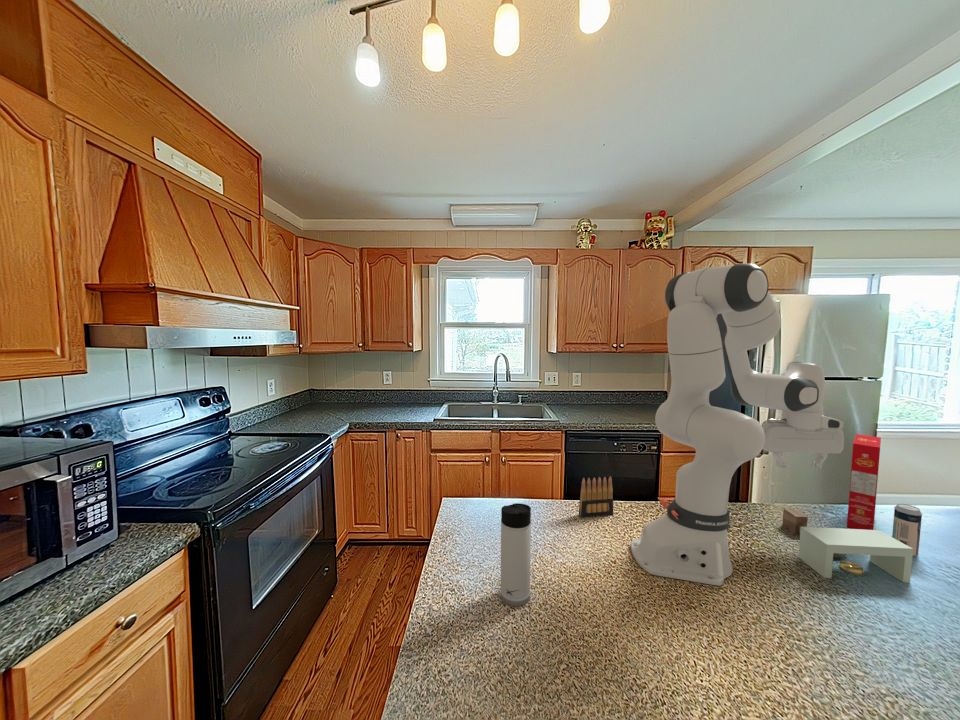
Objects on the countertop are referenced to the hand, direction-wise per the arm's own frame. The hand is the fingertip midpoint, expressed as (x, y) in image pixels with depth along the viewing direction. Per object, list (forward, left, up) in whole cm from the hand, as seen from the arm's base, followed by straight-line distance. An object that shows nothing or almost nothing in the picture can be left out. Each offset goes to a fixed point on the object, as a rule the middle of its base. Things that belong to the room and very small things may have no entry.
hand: (798, 467), depth 107 cm
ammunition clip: (-55, +3, -19) cm, 58 cm away
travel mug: (-80, -36, -19) cm, 90 cm away
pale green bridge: (0, -19, -18) cm, 26 cm away
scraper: (0, -6, -18) cm, 19 cm away
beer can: (+20, -10, -19) cm, 29 cm away
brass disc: (0, -19, -19) cm, 26 cm away
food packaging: (+23, +6, -19) cm, 30 cm away
